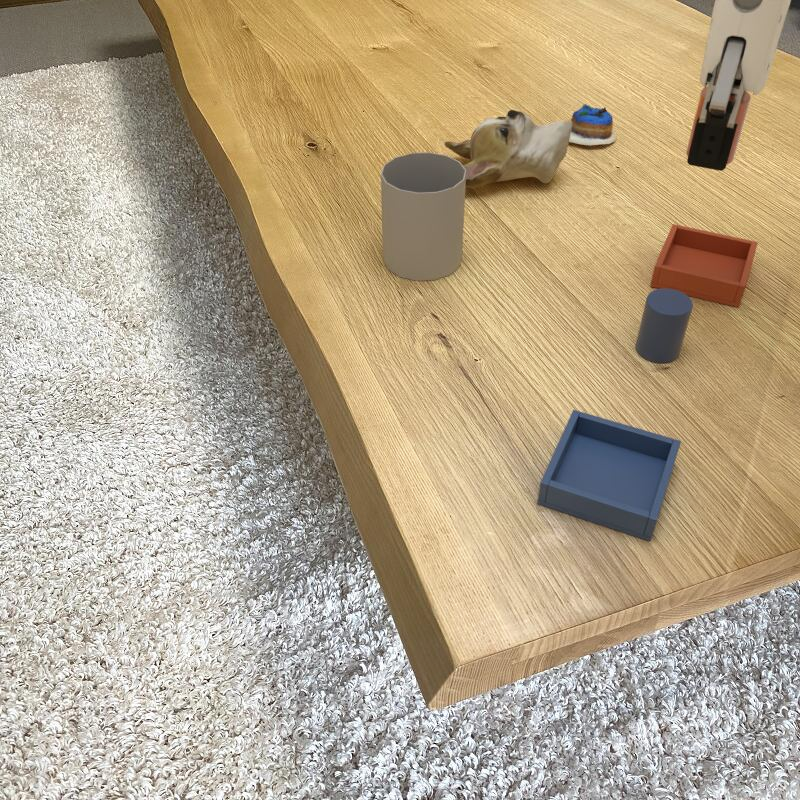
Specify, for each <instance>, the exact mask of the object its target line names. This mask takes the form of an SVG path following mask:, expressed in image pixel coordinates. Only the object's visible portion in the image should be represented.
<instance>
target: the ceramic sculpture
mask: <svg viewBox="0 0 800 800" xmlns="http://www.w3.org/2000/svg"><path fill="white" fill-rule="evenodd" d="M570 120H571V119H570ZM570 120H566V121H553V122H549V123H547V124H541V125H538V124H535V123H534V122H533V121H532V120H531V117H530V116H529V115H528V114H525V113H524V112H523V111H521V110H520V111H519V110H515V109H510V110H508V111H507V114H506V116H497V117H496V118H494V117H489V118H486V119H484V120H483V121H482V122H481V123H480V124H479V125H477V127H476V128H474V130H473V132H472V134H471V138H470V139H465V140H463V141H461V142H454V141H444V143H443V144H444V146H445V147H446V148H447V149H449V150H451V151H452V152H453V153H455V154H456V155H458V156H460V157H461V158H464V159H465V160H470V161H469V162H468V163H465V164H462V165H463V167H464V168H465V169H466V186H465V188H472V189H477V188H481V187H484V186H487V185H489V184H492V183H495V182H497V183H499V182H507V181H512V180H516V179H524V178H536V179H537V180H539V181H540V183H543V184H549V183H550V182H551V181H552V179H553V178H554V176H555V174H556V173H557V171H558V169H559V166H560V164H561V163H562V161H563V160H564V159H565V157H566V156H567V152H568V148H569V143H570V142H569V139H570V134H571V130H572V121H570Z"/></svg>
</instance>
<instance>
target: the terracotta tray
mask: <svg viewBox="0 0 800 800" xmlns="http://www.w3.org/2000/svg"><path fill="white" fill-rule="evenodd" d="M758 245H759V242H758V241H756V240H755V241H754V240H750V239H745V238H741V237H737V236H731V235H727V234H722V233H717V232H712V231H708V230H703V229H700V228H699V229H698V228H694V227H689V226H684V225H679V224H675V223H673V224H672V225H671V227H670V230H669V232H668V234H667V237H666V238H665V241H664V244H663V246H662V248H661V250H660V252H659V254H658V257H657V260H656V263H655V265H654V268H653V272H652V273H653V274H652V276H651V281H650V285H649V286H650V287H651V288H654V289H663V288H666V289H674V290H678V291H680V292H683V293H684V294H686V295H687V296H688V297H694V298H697V299H701V300H704V301H709V302H714V303H718V304H721V305H725V306H730V307H735V308H739V307H740V305H741V302H742V299H743V296H744V292H745V290H746V286H747V283H748V279H749V276H750V272H751V269H752V265H753V262H754V259H755V254H756V251H757V247H758Z"/></svg>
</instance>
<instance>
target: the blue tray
mask: <svg viewBox="0 0 800 800" xmlns="http://www.w3.org/2000/svg"><path fill="white" fill-rule="evenodd" d="M681 444H682V441H681V440H679V439H676V438H672V437H670V436H666V435H662V434H658V433H656V432H651V431H648V430H645V429H642V428H638V427H634V426H632V425H629V424H628V425H627V424H624V423H621V422H618V421H614V420H611V419H606V418H604V417H601V416H597V415H594V414H590V413H587V412H584V411H580V410H577V409H573V410H572V412H571V414H570V416H569V418H568V421H567V422H566V425H565V427H564V429H563V432H562V434H561V435H560V438H559V441H558V443H557V445H556V447H555V450H554V451H553V454H552V455H551V458H550V460H549V463H548V464H547V467H546V469H545V471H544V473H543V476H542V478H541V480H540V483H539V484H540V485H539V489H538V496H537V500H536V501H537V502H536V503H537V505H539V506H543V507H545V508H549V509H551V510H554V511H557V512H560V513H564V514H565V515H569V516H573V517H576V518H578V519H581V520H585V521H588V522H591V523H593V524H597V525H600V526H603V527H605V528H609V529H612V530H613V531H617V532H621V533H624V534H627V535H630V536H631V537H632V536H633V537H635V538H637V539H638V538H639V539H642V540H644V541H648V542H651V541H652V538H653V535H654V533H655V532H654V531H655V529H656V525H657V522H658V519H659V515H660V512H661V509H662V506H663V503H664V499H665V496H666V493H667V489H668V485H669V483H670V479H671V477H672V473H673V470H674V466H675V463H676V459H677V456H678V453H679V451H680V447H681Z"/></svg>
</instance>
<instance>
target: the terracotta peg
mask: <svg viewBox="0 0 800 800" xmlns="http://www.w3.org/2000/svg"><path fill="white" fill-rule="evenodd" d="M706 92H707V86H706V88H705V87H704V88H702V89H701V90H700V94H699V97H698V102H697V106H696V110H695V115H694V118H693V123H692V127H691V131H690V135H689V140H688V143H687V148H686V156H687V157H688V155H689V151H690V147H691V143H692V139H693V134H694V130H695V126H696V122H697V119H698V118H700V115H701V111H702V107H703V103H704V100H705V96H706ZM751 97H752V96H751V94H750V92H749V91H745V90H744V93H743V95H742V99H741V102H740V106H739V110H738V113H737V117H736V120H735V124H738V125H737V129H736V133H735V136H734V140H733V143H732V147H731V151H730V154H729V158H728V161H727V165H729V164H731V163H732V162H733V161H734V158H735V156H736V152H737V148H738V144H739V142H740V137H741V134H742V130H743V127H744V123H745V119H746V116H747V113H748V109H749V106H750V102H751ZM734 98H735V96H734V95H730V99H729V101H732V105H733V101H734Z"/></svg>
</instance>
